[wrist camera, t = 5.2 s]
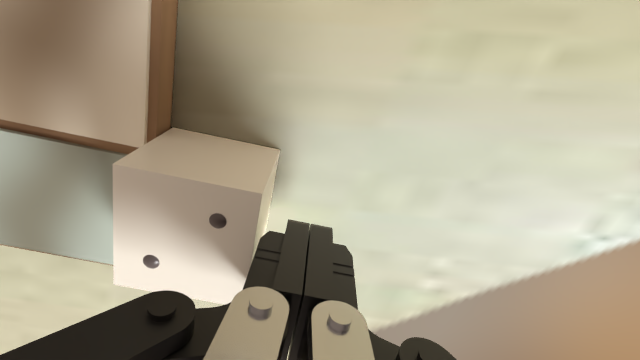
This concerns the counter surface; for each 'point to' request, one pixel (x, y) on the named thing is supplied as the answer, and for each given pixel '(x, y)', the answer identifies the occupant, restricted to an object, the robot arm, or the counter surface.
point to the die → (191, 213)
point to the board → (77, 114)
